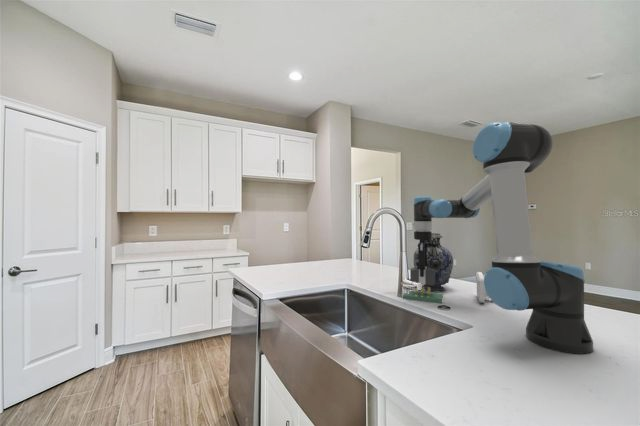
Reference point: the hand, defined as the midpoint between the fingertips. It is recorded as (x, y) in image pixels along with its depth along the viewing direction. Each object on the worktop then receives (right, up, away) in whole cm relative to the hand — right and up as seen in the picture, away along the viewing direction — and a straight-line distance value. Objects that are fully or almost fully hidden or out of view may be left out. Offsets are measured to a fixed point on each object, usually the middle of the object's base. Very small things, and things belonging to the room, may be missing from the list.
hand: (422, 282), depth 129 cm
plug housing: (0, 0, 0) cm, 0 cm away
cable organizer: (+27, -7, -5) cm, 29 cm away
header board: (0, -7, 0) cm, 7 cm away
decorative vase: (+11, -7, +16) cm, 21 cm away
